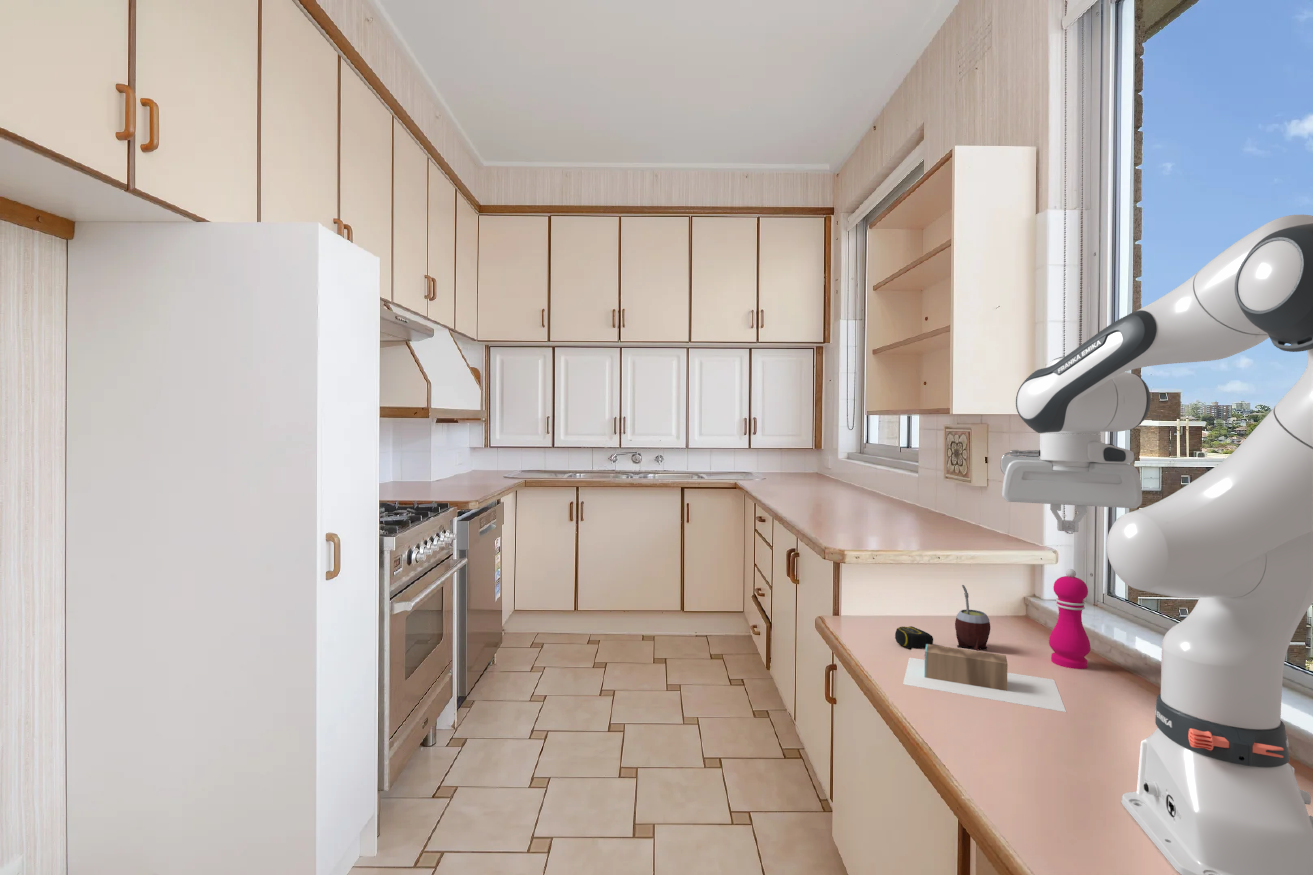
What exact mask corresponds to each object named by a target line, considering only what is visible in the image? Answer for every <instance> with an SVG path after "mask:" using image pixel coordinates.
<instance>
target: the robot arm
mask: <svg viewBox="0 0 1313 875" xmlns="http://www.w3.org/2000/svg"><path fill="white" fill-rule="evenodd" d="M1267 339H1270V340H1271V343H1272V344H1273V346H1274V347H1276V348H1277V349H1278V350H1281V351H1284V352H1290V353H1291V352H1292V353H1298V352H1307V365H1306V366H1305V370H1304V371H1303V373H1302V374H1301V376H1300V378H1299V379H1298V380H1297V381H1296V383H1295V384H1294V385H1293V386H1292V387H1291V388H1290V389H1289V390H1288V392H1286V393H1285V394H1284V396H1282V398H1281V399H1280V400H1279V401H1278V402H1277V403H1276V405H1275V406H1274V407H1273V408H1272V410H1270V412H1269V413H1268V414H1267V415H1266V416H1265V417H1264V418H1263V419H1262V420H1261V421H1260V422H1259V424H1258V425H1257V426H1256V427H1255V428H1254V429H1253V431H1252V432H1250V433H1249V434H1248V436H1247V437H1246V438H1245V439H1244V440H1243V441H1242V442H1241V443H1240V445H1239V446H1238V447H1237V448H1236V449H1235V450H1234V451H1233V452H1232V453H1231V454H1229V456H1227V457H1226V458H1225V459H1223V460H1222V461H1221V462H1220V463H1218V464H1217V465H1216V466H1214V467H1213V468H1211V469H1210V470H1209V471H1207V472H1205V473H1204V474H1202V475H1200V476H1199V477H1198V478H1196V479H1194V480H1193V481H1191V482H1190V483H1188V484H1187V485H1184V486H1183V487H1182V488H1180V489H1178V490H1176V491H1175V492H1174V493H1172V494H1170V495H1169V496H1167V497H1165V498H1162V499H1160V500H1159V501H1157V502H1154V503H1152V504H1150V505H1147V506H1145V507H1142V508H1139V509H1137V508H1138V507H1140V506H1141V505H1142V503H1143V490H1142V488H1143V487H1142V482H1141V477H1140V476H1141V475H1140V474H1139V471H1138V469H1137V468H1136V467H1135V466H1134V465H1132V464H1131V463H1133V462H1134V461H1135V460H1134V459H1135V453H1134V452H1133V451H1132V450H1129V449H1126V448H1124V447H1119V446H1115V445H1114V444H1112V443H1106V442H1102V440H1101V437H1102V436H1101V434H1102V433H1101V432H1103V433H1104V432H1105V433H1107V432H1108V433H1109V432H1110V433H1112V432H1113V433H1115V432H1116V433H1118V432H1119V433H1120V432H1124V431H1130V430H1134V429H1136V428H1137V427H1138V426H1140V425H1141V424H1142V423H1143V422H1144V421H1145V419H1146V418H1147V416H1148V414H1149V412H1150V410H1151V403H1152V402H1151V401H1152V399H1151V392H1150V389H1149V387H1148V384H1147V383H1146V382H1145V380H1144V379H1143V378H1142V377H1141V376H1140V375H1138V374H1136V373H1131V372H1128V371H1132V370H1136V369H1140V368H1141V369H1142V368H1146V367H1153V366H1161V365H1173V364H1184V363H1185V364H1186V363H1188V364H1189V363H1197V362H1198V363H1200V362H1211V361H1216V360H1217V361H1218V360H1222V359H1226V358H1227V359H1228V358H1230V357H1232V356H1234V355H1237V354H1240V353H1242V352H1245V351H1247V350H1249V349H1251V348H1254V347H1255V346H1257V345H1260V344H1261V343H1263V342H1265V341H1266V340H1267ZM1286 344H1287V345H1286ZM1015 409H1016V412H1017V414H1018V416H1019V417H1020V419H1021V420H1022V421H1023V423H1025V424H1026V425H1027V426H1028V427H1029V428H1030V429H1031V430H1033V431H1034V432H1036V433H1038V434H1039V449H1037V450H1036V449H1035V450H1034V449H1033V450H1032V449H1031V450H1030V449H1028V450H1021V449H1020V450H1019V449H1012V450H1010V451H1008V452H1006V453H1004V454H1003V455H1002V456H1001V458H1000V470H1001V472H1002V474H1004V476H1003V480H1002V487H1001V488H1002V489H1001V496H1002V499H1004V500H1005V501H1006V502H1007V503H1025V504H1043V505H1046V504H1047V505H1049V506H1050V507H1049V508H1050V509H1049V511H1050V512H1051V513H1052V514H1053V516H1054V517H1055V519H1056V521H1057V527H1056V528H1057V531H1058V532H1068V533H1069V532H1071V533H1079V523H1080V522H1081V521H1082V519H1083V518H1084V517H1085V516H1086V514H1087V512H1088V510H1087V509H1088V507H1102V508H1121V509H1123V508H1124V509H1136V510H1132V511H1129V512H1127V513H1124V514H1122V515H1121V516H1119V517H1118V518H1117V519H1116V520H1115V521H1114V523H1113V524H1112V526H1111V528H1110V529H1109V532H1108V535H1107V538H1106V555H1107V557H1108V560H1109V563H1110V566H1111V568H1112V570H1113V571H1114V573H1115V574H1116V576H1118V578H1119V579H1120V580H1121V581H1122V582H1123V583H1125V585H1127V586H1129V587H1131V588H1132V589H1136V590H1138V591H1143V592H1148V593H1151V594H1158V595H1162V596H1167V597H1171V598H1182V599H1184V598H1190V599H1191V598H1198V601H1197V602H1196V604H1195V606H1194V607H1193V609H1192V610H1191V612H1190V613H1189V614H1188V615H1187V616H1186V617H1185V618H1184V619H1183V620H1181V621H1180V622H1178V623H1177V624H1174V625H1173V626H1172V627H1171V628H1169V630H1168V631H1167V632H1166V633H1165V634H1164V637H1163V639H1162V640H1161V666H1160V667H1161V668H1160V671H1161V672H1160V693H1159V694H1158V695H1157V696H1156V699H1155V700H1156V702H1155V705H1154V714H1155V721H1154V722H1155V725H1156V727H1157V728H1156V729H1155V731H1154V732H1152V733H1151V734H1150V735H1149V736H1148V737H1146V738H1143V739H1142V740H1141V742H1140V748H1139V758H1138V759H1139V760H1138V761H1139V762H1138V772H1137V786H1136V790H1135V791H1130V792H1129V791H1127V792H1125V793H1123V794H1122V796H1121V804H1122V806H1123V807H1124V809H1126V811H1127V812H1128V813H1129V814H1130V815H1131V817H1132V818H1133V819H1134V820H1135V822H1136V823H1137V825H1139V826H1140V828H1141V829H1142V830H1143V831H1144V833H1145V834H1146V835H1147V836H1148V838H1150V839H1149V840H1151V842H1153V844H1154V845H1155V846H1156V848H1158V850H1159V851H1160V852H1161V853H1162V855H1163V856H1164V857H1165V858H1166V859H1167V861H1168V862H1169V863H1170V865H1171V866H1172V868H1174V869H1175V871H1177V872H1178V874H1180V875H1313V816H1311V815H1309V813H1308V809H1307V807H1306V805H1311V803H1312V799H1311V793H1310V792H1309V791H1306V790H1303V789H1300V786H1299V783H1298V781H1297V778H1296V775H1295V768H1294V767H1293V766H1292V765H1291V764H1290V763H1289V762H1290V755H1289V754H1290V753H1289V745H1290V744H1289V737H1288V735H1287V732H1286V731H1287V730H1286V725H1285V723H1284V722H1283V720H1282V719H1281V717H1282V715H1281V714H1282V713H1281V712H1282V695H1283V693H1282V692H1283V681H1284V680H1283V679H1284V666H1285V660H1286V656H1287V653H1288V649H1289V647H1290V644H1291V641H1292V639H1293V637H1294V634H1295V632H1296V630H1297V629H1298V626H1299V624H1300V623H1301V621H1302V620H1303V618H1304V616H1305V614H1306V613H1307V611H1308V610H1309V608H1310V607H1311V606H1312V605H1313V215H1310V214H1291V215H1284V216H1282V217H1278V218H1275V219H1273V220H1271V221H1268V222H1266V223H1265V224H1263V225H1261V226H1259V227H1258V228H1257V229H1255V230H1253V231H1251V232H1250V233H1248V234H1246V235H1245V236H1243V237H1241V239H1239V240H1237V241H1236V242H1234V243H1233V244H1232V245H1230V246H1229V247H1227V248H1226V249H1224V250H1223V251H1222V252H1220V253H1219V254H1218V255H1216V256H1215V257H1214V258H1212V259H1211V260H1210V261H1209V262H1207V264H1205V265H1204V266H1203V267H1202V268H1200V269H1199V270H1198V271H1196V273H1195V274H1193V275H1192V276H1191V277H1189V278H1188V279H1187V280H1186V281H1184V282H1183V283H1181V284H1180V285H1178V286H1176V288H1174V289H1172V290H1171V291H1169V292H1167V293H1166V294H1164V295H1163V296H1161V297H1159V298H1158V299H1156V300H1154V301H1153V302H1151V303H1149V304H1147V305H1145V306H1143V307H1141V308H1140V309H1137V310H1135V311H1132V312H1130V313H1129V314H1127V315H1124V316H1123V317H1121V318H1119V319H1117V320H1116V321H1114V322H1112V323H1110V324H1109V325H1107V326H1106V327H1105V328H1103V329H1102V330H1100V331H1098V332H1097V333H1096V334H1094V335H1093V336H1091V337H1090V338H1089V339H1088V340H1086V341H1085V342H1083V343H1082V344H1081V345H1080V346H1078V347H1076V348H1075V349H1074V350H1072V351H1071V352H1070V353H1068V354H1067V355H1063V356H1060V357H1057V358H1054V359H1052V360H1050V361H1049V362H1047V364H1046V366H1045V367H1044V368H1039V369H1037V370H1035V371H1033V372H1032V373H1031V374H1030V375H1029V376H1027V378H1025V379H1024V381H1023V382H1022V384H1021V385H1020V386H1019V388H1018V391H1017V393H1016V397H1015ZM1062 505H1063V506H1065V505H1066V506H1074V510H1075V511H1076V512H1077V513H1076V515H1075V516H1074V517H1073V519H1072V520H1070V519H1069V520H1067V519H1063V518H1062V517H1061V515H1060V514H1059V512H1061V511H1062Z"/></svg>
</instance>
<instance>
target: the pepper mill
mask: <svg viewBox="0 0 1313 875" xmlns="http://www.w3.org/2000/svg"><path fill="white" fill-rule="evenodd" d="M1065 574H1066V575H1065V576H1060V577H1059V578H1057V579H1056V580H1055V581H1054V583H1053V588H1052V589H1053V592H1054V594H1055V595H1056V596H1057V598H1056V599H1055V602H1056V604H1055V605H1056V606H1057V608H1058V609H1057V610H1058V617H1057V621H1056V623H1055V626H1054V627H1053V629H1052V631H1051V632H1050V634H1049V638H1048V645H1049V646H1050V648H1051V650H1052V651H1053V653H1051V663H1053V664H1055V665H1057V666H1059V667H1064V668H1066V669H1067V668H1068V669H1072V670H1073V669H1074V670H1084V669H1087V668H1088V660H1087V659H1086V656H1087V655H1089V654H1090V651H1091V641H1090V639H1089V636H1088V634H1087V633H1086V630H1085V628H1084V626H1083V622H1082V619H1083V618H1082V614H1083V613H1082V612H1083V610H1085V609H1086V608H1085V604H1086V602H1085V601H1084V600H1085V599H1086V598H1087V596H1088V595H1089V589H1088V585H1087V584H1086V583H1085V582H1084V580H1082V579H1081V578H1079V577H1076V575H1077V572H1076V570H1074V569H1072V568H1069V569H1066V570H1065Z"/></svg>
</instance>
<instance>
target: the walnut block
mask: <svg viewBox="0 0 1313 875" xmlns="http://www.w3.org/2000/svg"><path fill="white" fill-rule="evenodd" d="M924 648H925V649H924V660H925V675H924V677H925V678H931V679H937V680H943V681H949V682H955V683H961V684H968V685H974V686H980V687H986V688H992V689H998V690H1004V691H1007V673H1008V666H1009V665H1008V660H1007V655H1006V654H997V653H992V652H984V651H980V650H979V651H976V650H972V649H964V648H957V647H950V646H945V645H944V646H943V645H935V644H932V645H930V644H926V647H924Z"/></svg>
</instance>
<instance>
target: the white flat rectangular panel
mask: <svg viewBox="0 0 1313 875" xmlns="http://www.w3.org/2000/svg"><path fill="white" fill-rule="evenodd" d="M924 675H925V659H922V658H921V659H920V658H916V657H915V658H914V657H909V658H908V662H907V666H906V669H905V674H904V678H903V681H902V685H905V686H910V687H916V688H922V689H928V690H934V691H938V692H939V691H940V692H945V693H952V694H958V695H963V696H969V697H973V698H974V697H975V698H980V699H986V700H992V701H998V702H1003V703H1010V704H1016V705H1021V706H1027V707H1031V708H1032V707H1034V708H1038V709H1045V710H1051V711H1057V712H1063V713H1067V710H1066V707H1065V705H1064V701H1063V699H1062V697H1061V694H1060V692H1059V689H1058V687H1057V684H1056V681H1055V679H1052V678H1045V677H1040V676H1034V675H1026V674H1019V673H1013V672H1007V691H1004V690H998V689H992V688H986V687H980V686H974V685H968V684H961V683H955V682H949V681H943V680H937V679H931V678H925V677H924Z"/></svg>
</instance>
